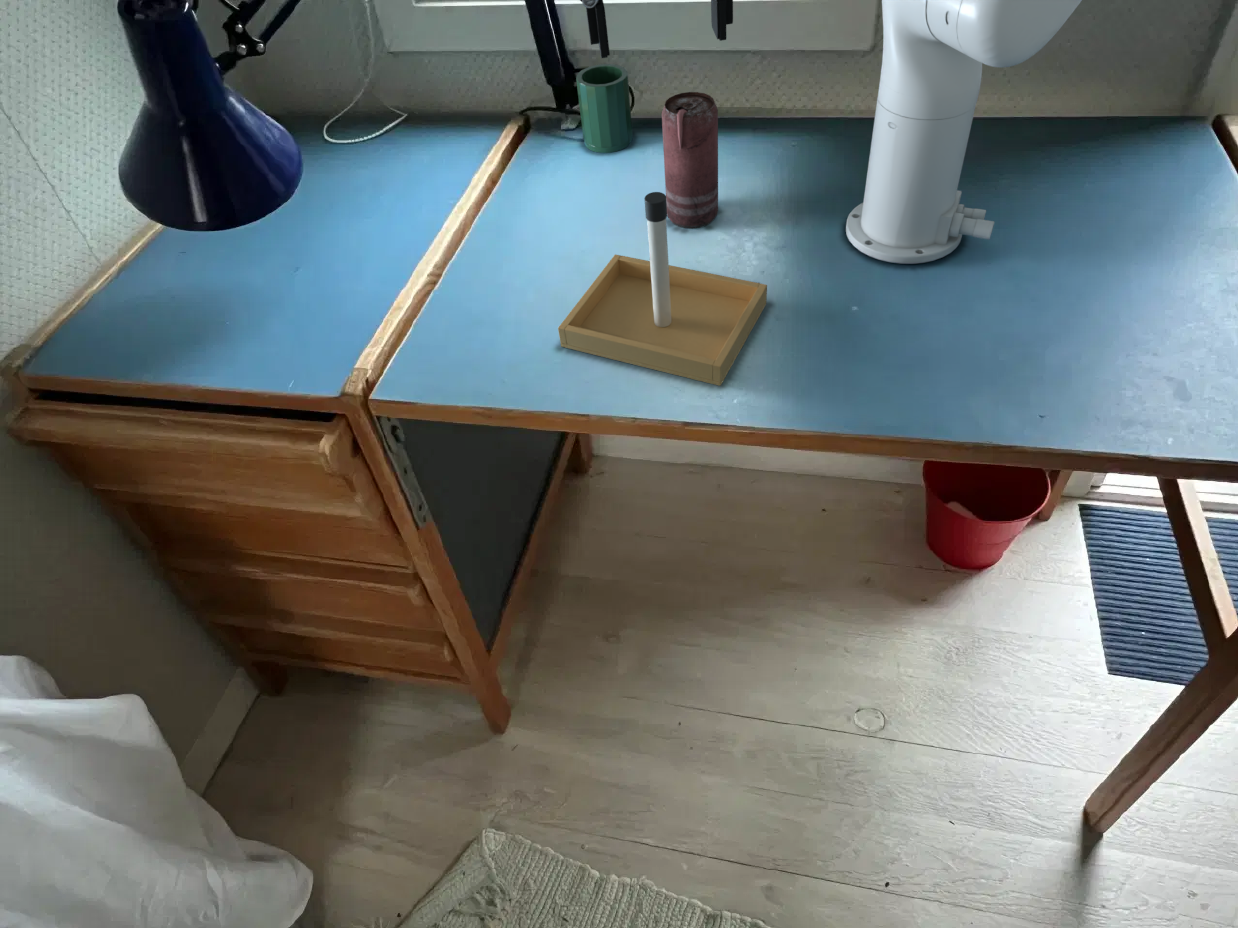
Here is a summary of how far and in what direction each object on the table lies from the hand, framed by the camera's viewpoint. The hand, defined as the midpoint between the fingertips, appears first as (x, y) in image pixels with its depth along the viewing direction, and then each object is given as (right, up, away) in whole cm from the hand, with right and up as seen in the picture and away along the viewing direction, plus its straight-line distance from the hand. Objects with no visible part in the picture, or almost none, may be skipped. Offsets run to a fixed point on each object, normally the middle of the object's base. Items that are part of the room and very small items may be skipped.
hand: (661, 42), depth 72 cm
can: (+5, -5, +33) cm, 33 cm away
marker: (+1, -20, +19) cm, 27 cm away
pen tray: (+1, -20, +19) cm, 28 cm away
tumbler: (-5, +9, +47) cm, 48 cm away
